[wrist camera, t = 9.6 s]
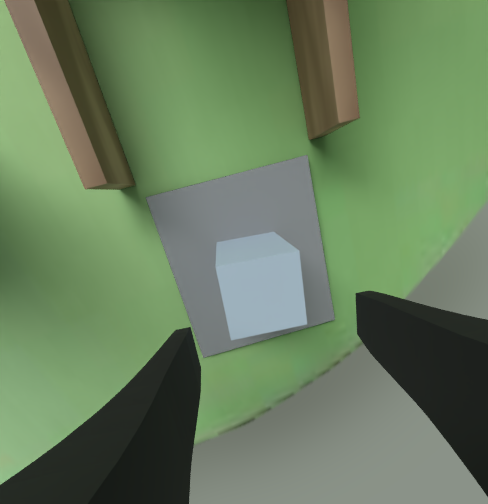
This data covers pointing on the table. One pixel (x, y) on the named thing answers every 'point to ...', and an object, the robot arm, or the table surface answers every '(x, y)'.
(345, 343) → the table surface
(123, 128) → the table surface
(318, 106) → the brown u-shaped frame
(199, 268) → the pad
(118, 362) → the table surface
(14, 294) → the table surface
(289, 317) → the block
